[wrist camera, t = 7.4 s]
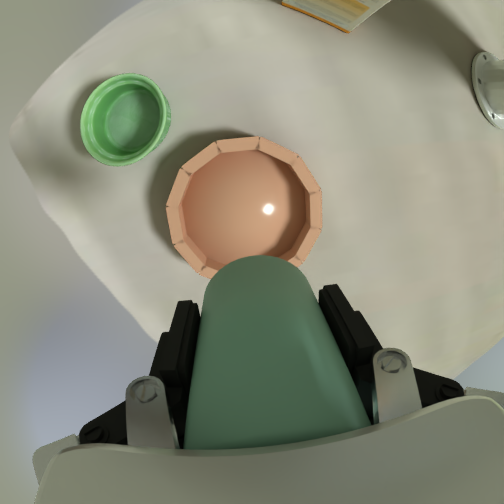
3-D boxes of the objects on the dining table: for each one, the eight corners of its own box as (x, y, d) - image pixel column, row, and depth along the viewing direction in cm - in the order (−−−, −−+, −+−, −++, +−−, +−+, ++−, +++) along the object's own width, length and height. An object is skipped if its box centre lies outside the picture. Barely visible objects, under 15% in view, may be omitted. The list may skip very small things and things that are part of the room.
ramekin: (86, 137, 25) (65, 139, 21) (128, 68, 22) (112, 59, 18) (146, 177, 27) (131, 184, 23) (193, 105, 25) (186, 100, 21)
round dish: (310, 133, 26) (318, 133, 24) (314, 265, 32) (321, 277, 29) (164, 148, 26) (156, 150, 23) (187, 279, 32) (183, 292, 29)
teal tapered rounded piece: (312, 249, 12) (403, 403, 4) (310, 338, 14) (355, 479, 6) (194, 261, 12) (150, 435, 4) (213, 349, 14) (206, 498, 6)
